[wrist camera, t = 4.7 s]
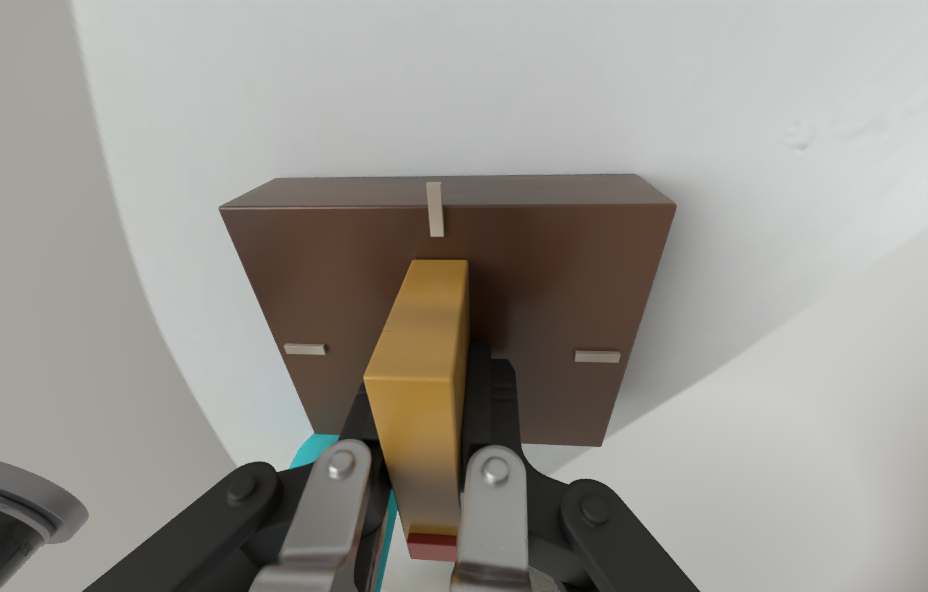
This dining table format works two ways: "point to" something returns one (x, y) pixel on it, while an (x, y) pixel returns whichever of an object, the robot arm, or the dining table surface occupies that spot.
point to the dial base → (490, 280)
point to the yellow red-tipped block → (424, 402)
